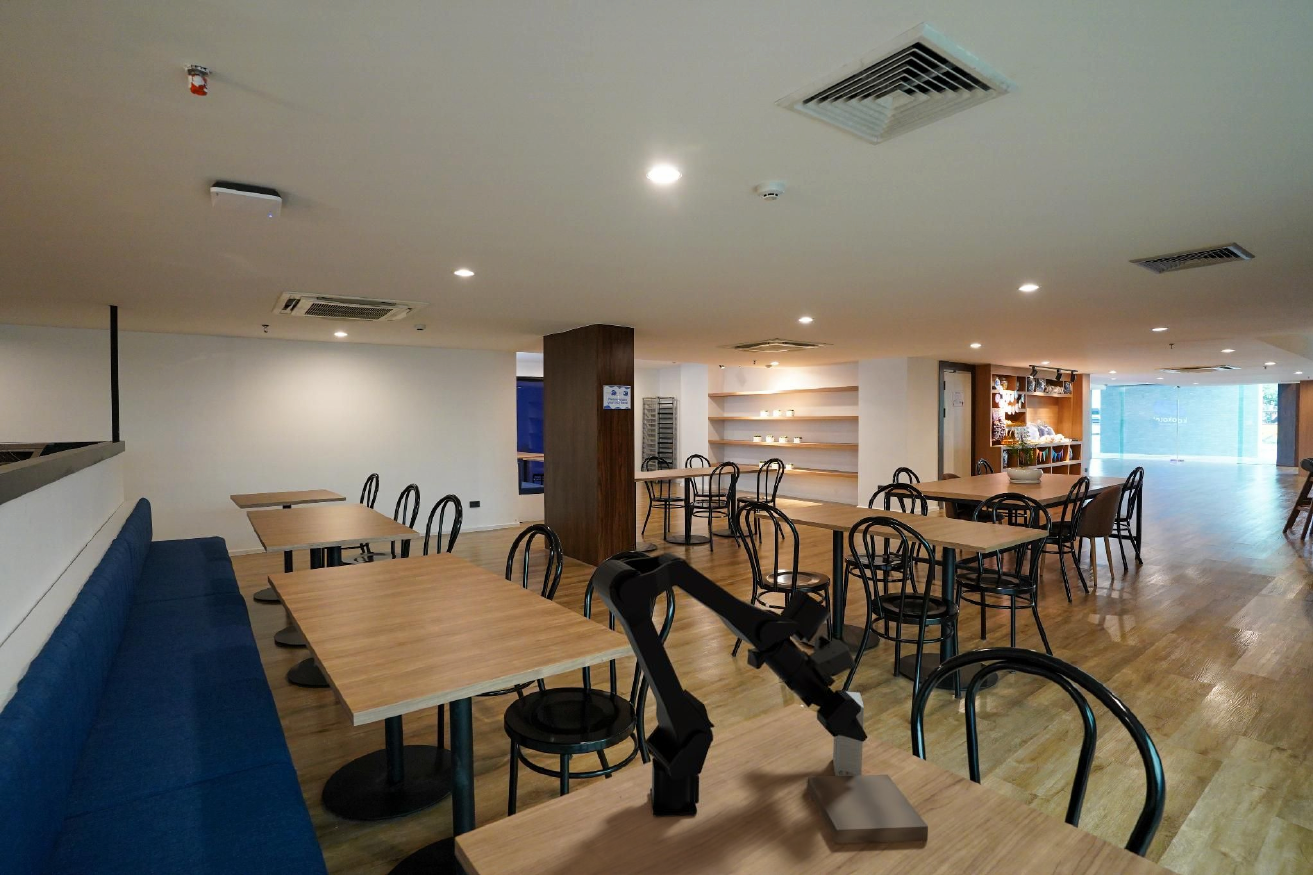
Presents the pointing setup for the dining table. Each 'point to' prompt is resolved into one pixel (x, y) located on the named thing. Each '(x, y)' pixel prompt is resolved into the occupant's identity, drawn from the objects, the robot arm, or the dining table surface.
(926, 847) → the dining table surface
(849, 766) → the skincare box
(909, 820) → the walnut plinth
